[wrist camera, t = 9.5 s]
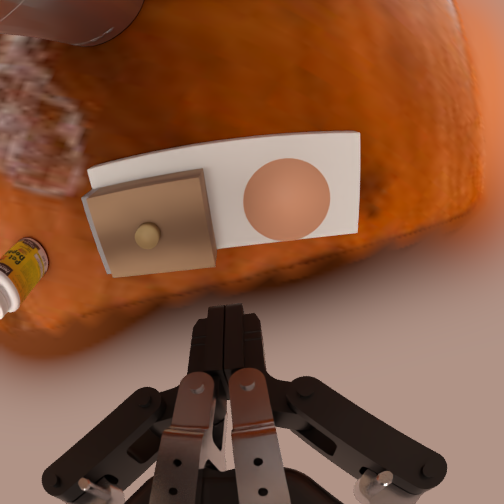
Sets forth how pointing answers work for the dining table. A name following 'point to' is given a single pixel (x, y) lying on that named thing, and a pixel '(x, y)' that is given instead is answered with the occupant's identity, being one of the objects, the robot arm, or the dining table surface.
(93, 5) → the robot arm
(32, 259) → the supplement bottle
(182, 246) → the cover
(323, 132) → the board
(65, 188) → the dining table surface
